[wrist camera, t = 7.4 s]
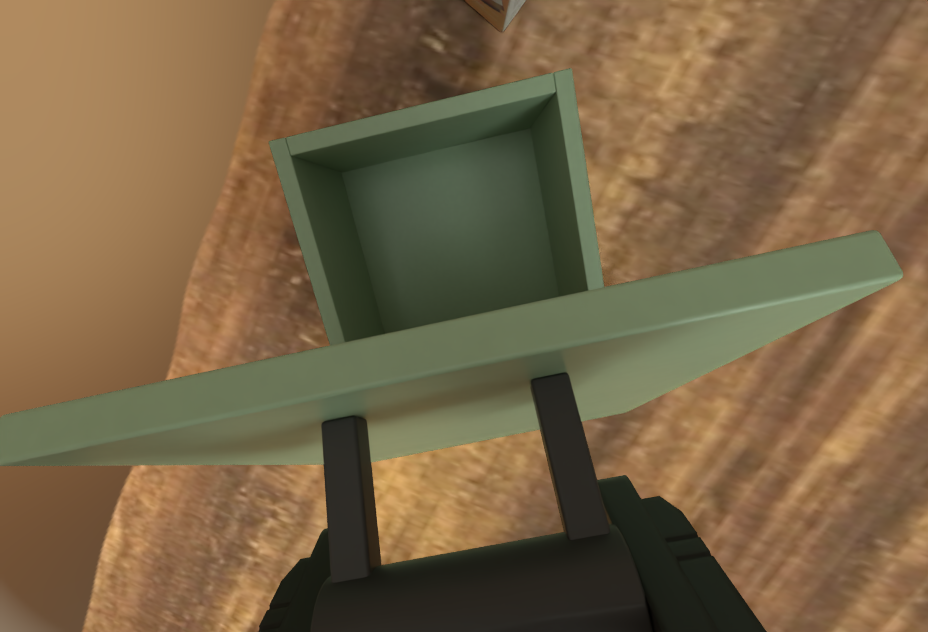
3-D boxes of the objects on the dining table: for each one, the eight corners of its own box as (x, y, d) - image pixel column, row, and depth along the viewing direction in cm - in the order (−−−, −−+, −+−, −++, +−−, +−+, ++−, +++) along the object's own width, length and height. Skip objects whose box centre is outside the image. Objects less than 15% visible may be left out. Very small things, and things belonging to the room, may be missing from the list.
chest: (329, 163, 28) (267, 141, 19) (538, 114, 27) (571, 67, 18) (391, 386, 31) (362, 451, 23) (577, 348, 30) (621, 400, 22)
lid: (-4, 414, 7) (-87, 855, 5) (880, 226, 6) (1142, 669, 4) (359, 448, 22) (369, 561, 20) (622, 396, 21) (656, 508, 20)
